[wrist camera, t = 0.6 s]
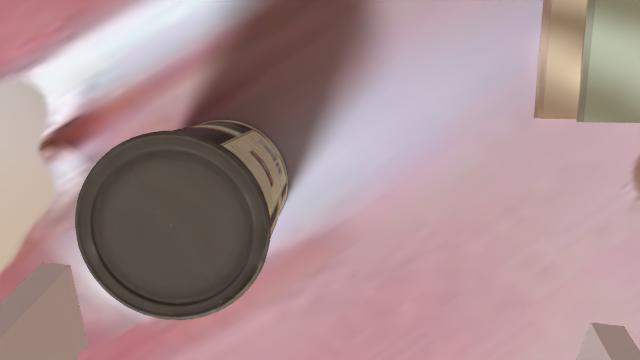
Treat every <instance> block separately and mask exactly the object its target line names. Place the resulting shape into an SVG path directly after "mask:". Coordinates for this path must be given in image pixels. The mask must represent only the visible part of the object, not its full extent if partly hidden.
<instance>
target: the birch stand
mask: <svg viewBox="0 0 640 360" xmlns="http://www.w3.org/2000/svg"><path fill="white" fill-rule="evenodd" d="M534 118H542V119H577V122H621V123H640V0H544V2H543V15H542V27H541V40H540V52H539V64H538V77H537V89H536V102H535V114H534Z"/></svg>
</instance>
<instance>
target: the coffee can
mask: <svg viewBox="0 0 640 360" xmlns="http://www.w3.org/2000/svg"><path fill="white" fill-rule="evenodd" d="M287 193H288V175H287V169H286V166H285V163H284V161H283V158H282V156H281V154H280V152H279V151H278V149H277V148H276V146H275V145H274V144H273V143H272V141H271V140H270V139H269V138H268V137H267V136H265V135H264V134H263V133H262V132H260V131H259V130H258V129H256V128H254V127H252V126H249V125H247V124H245V123H242V122H238V121H233V120H214V121H208V122H204V123H201V124H199V125H196V126H192V127H188V128H183V129H178V130H174V131H159V132H152V133H147V134H142V135H139V136H136V137H133V138H131V139H129V140H126V141H124V142H122V143H120V144H119V145H117V146H115V147H114V148H112V149H111V150H110V151H108V152H107V153H106V154H105V155H104V156H103V157H102V158H101V159H100V160H99V161H98V162H97V163H96V165H95V166H94V167H93V168H92V170H91V171H90V173H89V174H88V176H87V178H86V180H85V182H84V183H83V186H82V189H81V191H80V193H79V197H78V201H77V206H76V214H75V228H76V235H77V241H78V246H79V249H80V252H81V254H82V257H83V259H84V261H85V263H86V265H87V267H88V269H89V271H90V272H91V274H92V275H93V277H94V278H95V279H96V281H97V282H98V283H99V284H100V285H101V286H102V288H103V289H104V290H105V291H106V292H107V293H109V294H110V295H111V296H112V297H114V298H115V299H116V300H118V301H119V302H120V303H122V304H123V305H125V306H126V307H128V308H130V309H133V310H135V311H137V312H139V313H142V314H144V315H148V316H151V317H155V318H160V319H167V320H187V319H195V318H200V317H204V316H208V315H210V314H213V313H215V312H218V311H220V310H222V309H224V308H226V307H227V306H229V305H230V304H232V303H233V302H235V301H236V300H237V299H238V298H240V297H241V296H242V295H243V294H244V293H245V292H246V291H247V290H248V288H249V287H250V286H251V285H252V284H253V282H254V281H255V280H256V278H257V276H258V275H259V273H260V271H261V269H262V267H263V265H264V262H265V259H266V256H267V252H268V248H269V243H270V238H271V235H272V233H273V230H274V228H275V225H276V223H277V219H278V217H279V215H280V213H281V211H282V209H283V206H284V204H285V201H286V198H287Z"/></svg>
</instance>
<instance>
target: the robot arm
mask: <svg viewBox="0 0 640 360" xmlns="http://www.w3.org/2000/svg"><path fill="white" fill-rule="evenodd" d="M87 344H88V342H87V338H86V333H85V329H84V324H83V320H82V315H81V311H80V306H79V302H78V297H77V293H76V289H75V284H74V280H73V275H72V271H71V266H70V265H63V264H54V263H45V262H42V263H41V264H40V265H39V266H38V267H37V268H36V269H35V270H34V271H33V272H32V273H31V274H30V275H29V276H28V277H26V278H25V279H24V280H23V281H22V282H21V283H20V284H19V285H18V286H17V287H16V288H15V289H14V290H13V291H12V292H11V293H10V294H9V295H8V296H7V297H5V298H4V299H3V300H2V301H1V302H0V360H76V359H77V358H78V357H79V355H80V354H81V352H82V351H83V350H84V348H85V347H86V346H87ZM576 360H640V351H639V349H638V348H637V346H636V345H635V343H634V341H633V340H632V338H631V337H630V335H629V334H628V332H627V330H626V329H625V327H624V326H617V325H607V324H598V323H590V326H589V328H588V331H587V334H586V336H585V339H584V341H583V344H582V346H581V349H580V351H579V354H578V357H577V359H576Z"/></svg>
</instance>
